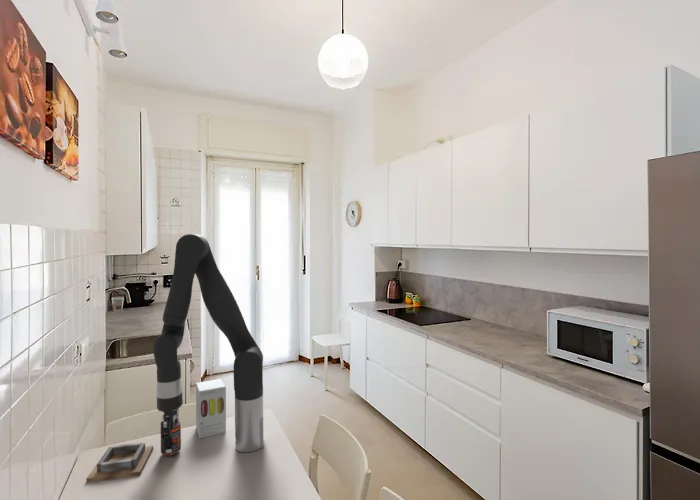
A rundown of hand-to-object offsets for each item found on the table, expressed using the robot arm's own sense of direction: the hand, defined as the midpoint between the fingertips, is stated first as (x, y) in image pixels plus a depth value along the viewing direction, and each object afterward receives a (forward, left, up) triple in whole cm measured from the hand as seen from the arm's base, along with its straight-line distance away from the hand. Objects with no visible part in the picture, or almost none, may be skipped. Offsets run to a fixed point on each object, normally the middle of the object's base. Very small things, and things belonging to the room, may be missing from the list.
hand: (170, 443), depth 121 cm
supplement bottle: (0, 0, -3) cm, 3 cm away
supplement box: (-11, -13, -4) cm, 17 cm away
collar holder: (+13, +3, -3) cm, 14 cm away
